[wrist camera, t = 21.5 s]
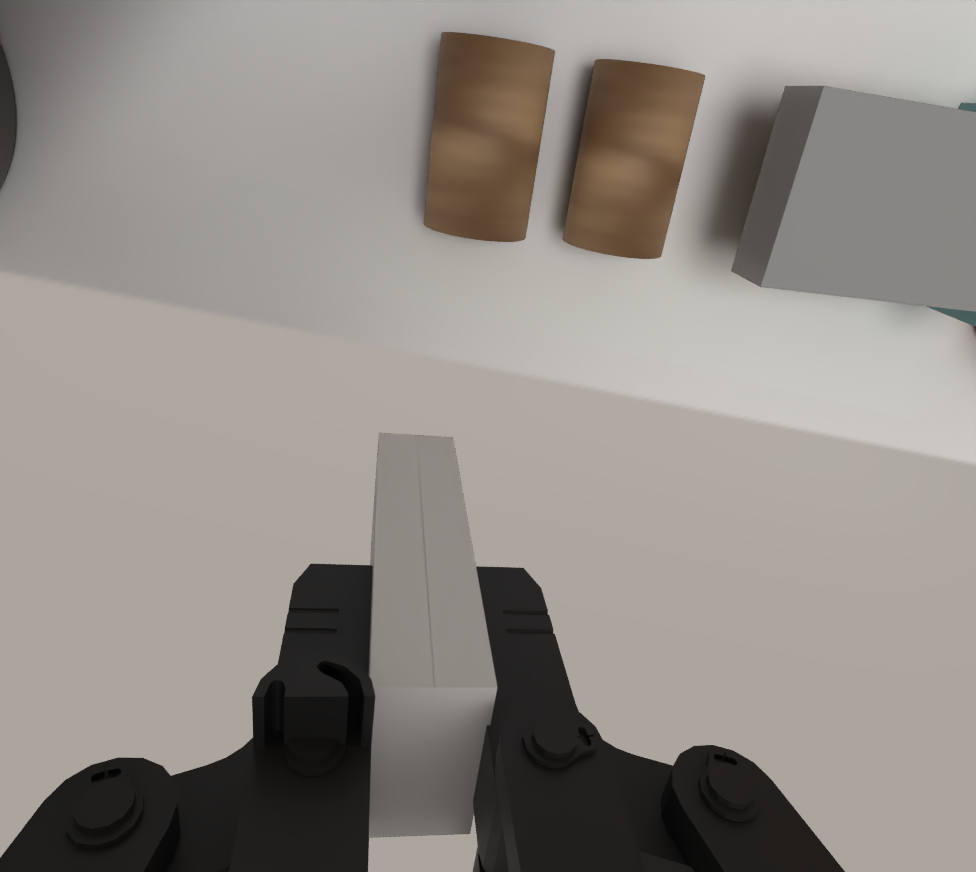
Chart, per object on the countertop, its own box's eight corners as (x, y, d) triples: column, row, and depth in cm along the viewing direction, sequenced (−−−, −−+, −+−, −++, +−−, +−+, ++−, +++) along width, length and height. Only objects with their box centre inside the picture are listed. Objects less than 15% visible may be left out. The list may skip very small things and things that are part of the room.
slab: (731, 270, 33) (760, 286, 30) (785, 86, 30) (824, 85, 27) (947, 296, 35) (992, 313, 32) (1021, 126, 32) (1079, 130, 29)
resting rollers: (421, 214, 35) (425, 233, 31) (438, 36, 32) (445, 28, 27) (642, 242, 37) (676, 263, 33) (680, 77, 34) (724, 76, 29)
